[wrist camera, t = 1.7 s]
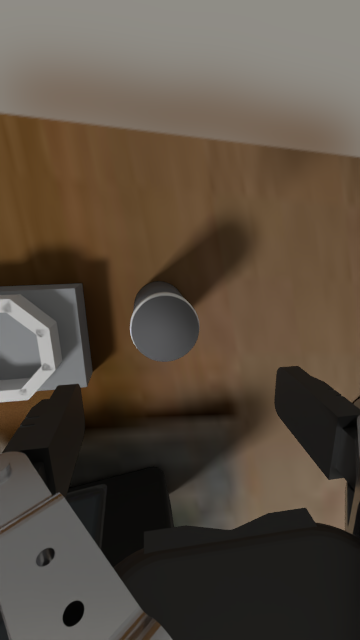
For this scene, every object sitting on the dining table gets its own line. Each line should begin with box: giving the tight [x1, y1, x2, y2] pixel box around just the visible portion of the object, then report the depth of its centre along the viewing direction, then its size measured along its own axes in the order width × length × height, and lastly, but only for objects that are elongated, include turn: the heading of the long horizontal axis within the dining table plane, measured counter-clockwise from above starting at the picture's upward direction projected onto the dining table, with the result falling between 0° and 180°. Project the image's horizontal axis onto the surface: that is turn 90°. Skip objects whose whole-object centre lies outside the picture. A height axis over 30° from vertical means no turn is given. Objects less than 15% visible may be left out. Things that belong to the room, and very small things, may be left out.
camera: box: [0, 467, 174, 640], centre depth 25 cm, size 23×10×15 cm, turn 98°
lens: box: [130, 281, 199, 362], centre depth 24 cm, size 5×5×8 cm
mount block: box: [0, 283, 92, 402], centre depth 24 cm, size 12×9×5 cm
